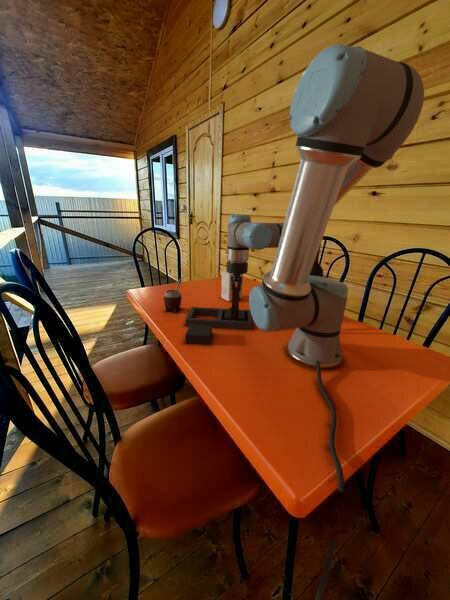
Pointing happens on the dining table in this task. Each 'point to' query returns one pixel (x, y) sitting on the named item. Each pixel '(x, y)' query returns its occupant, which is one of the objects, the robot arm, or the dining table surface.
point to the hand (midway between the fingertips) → (234, 320)
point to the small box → (228, 286)
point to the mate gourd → (173, 299)
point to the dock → (219, 322)
